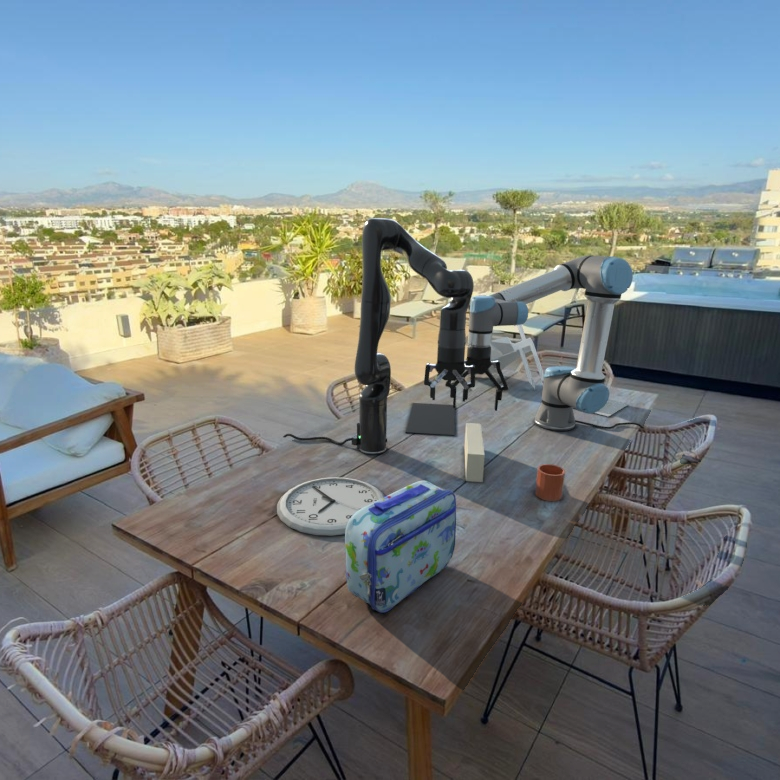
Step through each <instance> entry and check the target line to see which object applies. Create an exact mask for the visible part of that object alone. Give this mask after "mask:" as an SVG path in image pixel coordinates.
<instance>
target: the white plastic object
mask: <svg viewBox="0 0 780 780" xmlns="http://www.w3.org/2000/svg"><path fill="white" fill-rule="evenodd" d="M516 326H517V328H518V333H519V336H520V338H521V340H520V341H518V342H515V343H514V342H512V340H511V339H510V337H509V336H505V337H500V338H496V339H492V344H491V345H490V346H491V358H490V360H491V361H496V360H499V362H500V369H501V371H502V370H504V369H505V368H507V367H508V366H509V365H511V364H513V363H514V362H516V360H518V359H519V358H520V359H521V361H522V364H523V367H524V370H525V373H526V377H527V379H528V382H529V384H530V386H531V387H532V388H533V389H534V390H536V384H535V380H534V377H533V375H532V374H533V373H532V372H531V368H530V365H529V363H528V358H527V355H526V354H528V353H530V352H531V353H532V356H533V359H534V362H535V365H536V368H537V371H538V374H539V377H540V381H541V382H542V383H543V380H544V374H545V371H544V369H543V366H542V364H541V361H540V358H539V355H538V352H537V349H536V346H535V343H534V341H533V339H532V338H531V337H528V338H527V337H526V334H525V331H524V328H523V324H521V325H516ZM464 365H465V364H464ZM465 366H466V365H465ZM489 371H490V372H491V373H492V375H493V376H495V375H499V374H498V372H497V369H496V368H494V366H493V365H491V366H490V368H489ZM502 372H503V371H502ZM484 375H486V374H485V373H484V374H475V377H476V376H484ZM466 377H471V374H468V375H467V376H466Z"/></svg>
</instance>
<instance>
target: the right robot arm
mask: <svg viewBox="0 0 780 780" xmlns="http://www.w3.org/2000/svg"><path fill="white" fill-rule="evenodd" d="M633 277H634V274H633V269H632V267H631V265H630V263H629V261H627V260H626V259H624V258H621V257H617V256H606V255H605V256H603V255H595V254H594V255H593V254H588V255H583V256H579V257H577V258H573V259H571V260H568V261H566V262H563V263H561V264H557V265H556V266H555V267H554V269H553V270H551V271H548V272H546V273H543V274H540V275H538V276H535V277H533V278H530V279H528V280H526V281H523V282H520V283H517V284H515V285H512V286H510V287H508V288H504V289H503V290H501V291H498V292H495V293H493V294H489V295H487V294H486V295H485V294H483V295H474V296H472V297H471V300H470V303H469V309H468V310H469V319H468V334H467V336H468V337H467V344H468V345H467V346H466V347H467V348H466V358H465V359H464V364H465V365H466V366H471V365H474V366H475V374H484V373H485V375H486V376H487V377H488V379H489V380H490V381H491V383H492V384H493V385H494V386H495V388H496V389H495V395H494V406H493V407H494V408H493V409H494V411H495V412H497V411H498V406H499V401H502V398H503V391H508V390H509V386H508V384H507V383H508V382H507V381H506V378H505V375H504V374H503V371H501V369H500V362H499V360H496V361H491V360H490V358H491V346H490V345H491V344H492V340H493V333H494V332H493V331H494V327H504V326H505V327H507V326H509V327H510V326H514V327H516V326H517V325H524V324H525V323H526V322H527V321H528V318H529V307H528V304H530V303H532V302H536V301H537V300H540V299H542V298H545V297H547V296H550V295H553V294H555V293H558V292H560V291H562V292H568V291H570V290H574V289H583V290H585V291H584V297H585V298H586V300H587V306H586V311H585V317H584V322H583V327H582V328H583V329H582V334H581V339H580V343H579V344H580V345H579V351H578V356H577V361H576V367H574V366H566V365H565V366H564V365H562V366H561V365H559V366H558V365H557V366H549V367H547V368H546V369H545V370H544V380H543V382H542V392H541V402H540V405H539V407H538V410H537V411H536V413H535V417H534V424H535V425H536V426H537V427H539V428H542V429H544V430H549V431H556V432H567V431H572V430H574V429H575V428H576V423H577V424H582V425H585V426H591V427H595V428H599V429H606V430H610V429H614V428H615V427H617V426H627V425H633V426H638V427H639V428H640V429H645V427H644V426H643V425H641V424H640V423H637V422H633V421H632V422H618V423H614V424H613V425H611V426H604V425H598V424H594V423H590V422H586V421H581V420H578V419H576V418H575V417H576V416H575V413H574V409H575V410H577V411H579V412H581V413H585V414H588V415H590V414H591V415H593V414H595V413H596V412H598V411H599V410H600V409H601V408H603V407H604V406H605V404H606V403H607V401H608V400H609V398H610V390H609V387H607V385H606V384H605V379H606V375H605V374H604V373H603V367H604V361H605V356H606V352H607V347H608V341H609V335H610V331H611V325H612V321H613V314H614V309H615V304H616V303H618V302H619V301H620V300H621V298H622V294H624V293H626V292H628V289H630V287H631V285H632V283H633ZM491 365H493V366H494V368H496V369H497V372H498V374H497V375H498V377H499V379H500V381H501V383H502V385H501V383H500V382H499V380H498V379H496V377H495V375H493V374H492V373H491V372H490V371H489V368H490V366H491ZM468 374H469V373H468V371H467V370H465V371H464V373H463V374H462V376H463V377H464V379H465V378H467V377H468V376H467V375H468ZM444 383H445V384H444V386H445V387H447V388H449V390H450V392H449V397H450V399H452V405H453V408H455V409H456V405H457V404H456V403H457V386H458V385H459V384H461V383H460V382H459V381H458V379H457V380H455V381H452V380H445V382H444Z"/></svg>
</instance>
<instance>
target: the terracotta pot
mask: <svg viewBox="0 0 780 780" xmlns="http://www.w3.org/2000/svg"><path fill="white" fill-rule="evenodd" d="M565 479H566V470H565V469H564V468H563V467H562V466H560V465H556V464H553V463H552V464H551V463H544V464H543V463H542V464H540V465H538V467H537V472H536V481H535V487H534V489H535V490H534V494H535V496H536V497H537V498H539V499H541V500H543V501H547V502H558V501H560V500H561V499H562V498H563V495H564V487H565V486H564V485H565Z"/></svg>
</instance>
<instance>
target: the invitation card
mask: <svg viewBox="0 0 780 780" xmlns="http://www.w3.org/2000/svg"><path fill="white" fill-rule="evenodd" d="M627 406H628V404H627V403H623V402H618V401H614V400H609V399H608V401H607V403H606V404H605V406H604V407H603V408H601V409H600V410H599V411H598V412H596V413H594V415H595V414H596V415H600V416H603V417H608V418H609V417H611V416H612V415H614V414H616V413H617V412H619V411H620V410H622V409H624V408H625V407H627Z"/></svg>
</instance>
